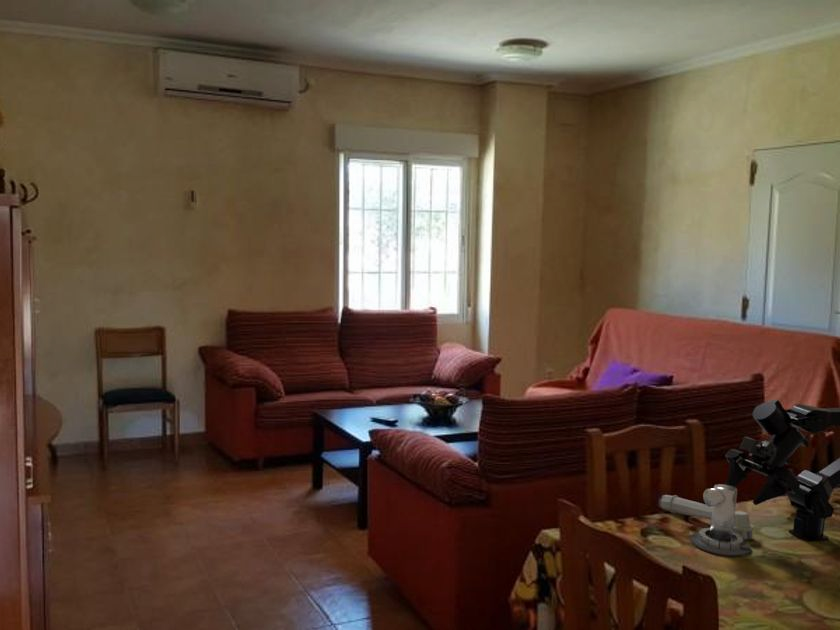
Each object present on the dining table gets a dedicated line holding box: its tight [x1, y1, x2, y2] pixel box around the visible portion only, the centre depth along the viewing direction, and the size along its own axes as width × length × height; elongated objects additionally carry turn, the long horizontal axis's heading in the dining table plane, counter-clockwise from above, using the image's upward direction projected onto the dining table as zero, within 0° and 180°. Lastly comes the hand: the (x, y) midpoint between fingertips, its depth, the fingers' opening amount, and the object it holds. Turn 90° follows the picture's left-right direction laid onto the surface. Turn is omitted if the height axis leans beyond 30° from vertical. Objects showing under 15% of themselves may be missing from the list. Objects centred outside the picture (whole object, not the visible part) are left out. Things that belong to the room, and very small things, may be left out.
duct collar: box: [690, 527, 751, 558], centre depth 183 cm, size 13×13×2 cm
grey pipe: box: [658, 494, 755, 540], centre depth 197 cm, size 5×7×25 cm
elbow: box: [702, 483, 738, 542], centre depth 182 cm, size 7×5×13 cm
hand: (739, 496), depth 184 cm, fingers open, 9 cm apart
